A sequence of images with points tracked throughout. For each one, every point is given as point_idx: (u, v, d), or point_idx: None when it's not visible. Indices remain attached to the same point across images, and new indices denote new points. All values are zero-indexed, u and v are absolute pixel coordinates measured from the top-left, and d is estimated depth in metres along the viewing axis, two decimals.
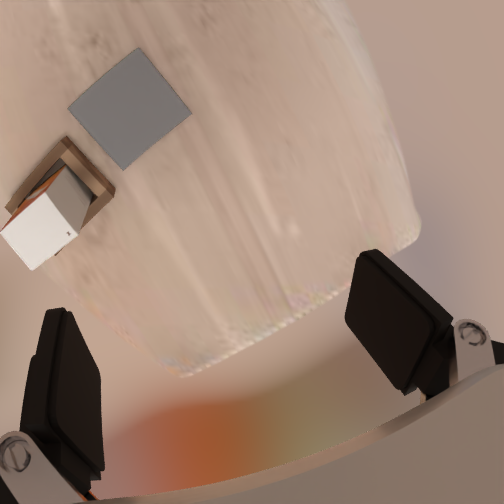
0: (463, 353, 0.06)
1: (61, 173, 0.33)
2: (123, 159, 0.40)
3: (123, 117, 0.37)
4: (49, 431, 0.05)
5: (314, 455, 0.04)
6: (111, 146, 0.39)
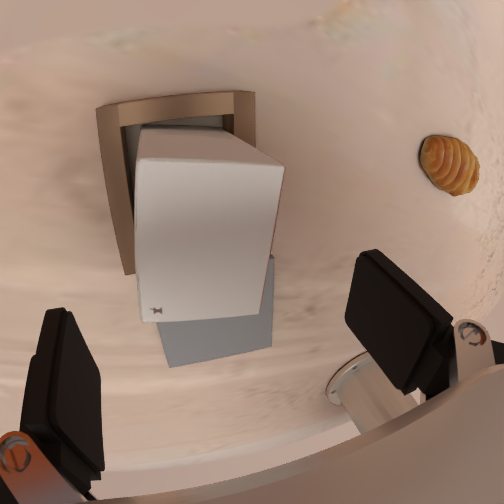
0: (463, 353, 0.06)
1: None
2: None
3: None
4: (49, 431, 0.05)
5: (314, 455, 0.04)
6: None
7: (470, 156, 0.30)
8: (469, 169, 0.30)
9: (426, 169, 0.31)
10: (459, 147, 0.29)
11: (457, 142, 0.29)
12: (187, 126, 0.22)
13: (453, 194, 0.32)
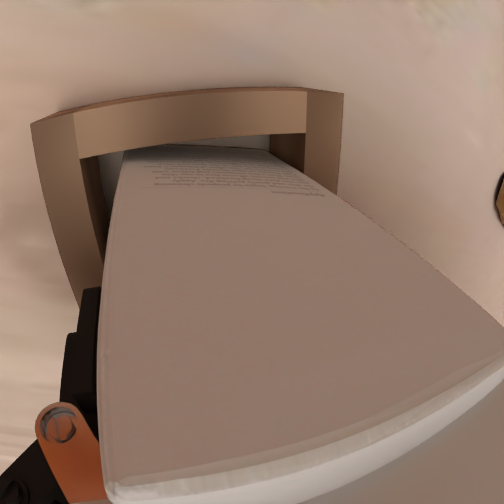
0: None
1: None
2: None
3: None
4: (94, 400, 0.06)
5: None
6: None
7: None
8: None
9: None
10: None
11: None
12: (211, 149, 0.12)
13: None
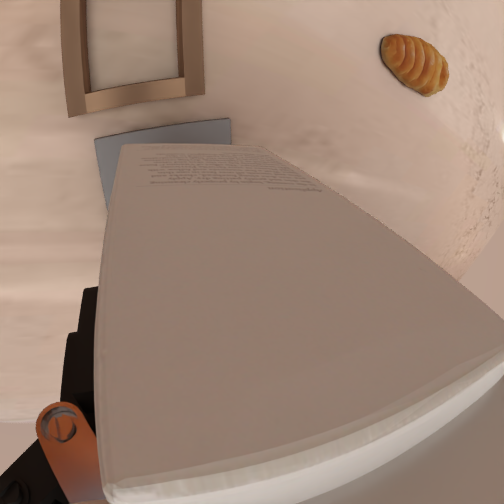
0: None
1: None
2: (108, 149, 0.25)
3: None
4: None
5: None
6: (137, 143, 0.25)
7: (435, 53, 0.27)
8: (436, 65, 0.27)
9: (389, 64, 0.28)
10: (421, 44, 0.26)
11: (418, 39, 0.26)
12: (207, 147, 0.12)
13: (424, 91, 0.30)
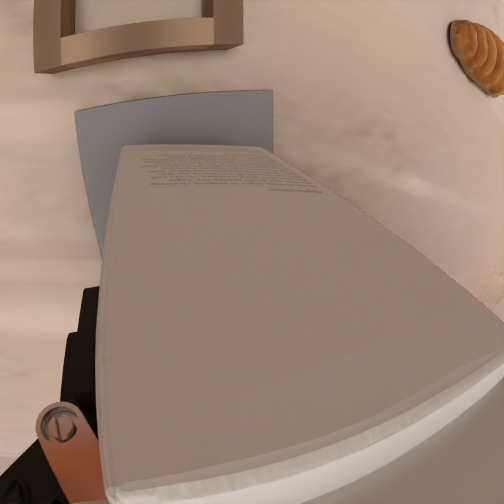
0: None
1: None
2: (94, 125, 0.16)
3: None
4: (95, 399, 0.06)
5: None
6: (136, 118, 0.17)
7: None
8: None
9: (460, 54, 0.19)
10: (490, 34, 0.18)
11: (487, 28, 0.18)
12: (207, 148, 0.12)
13: (494, 90, 0.21)
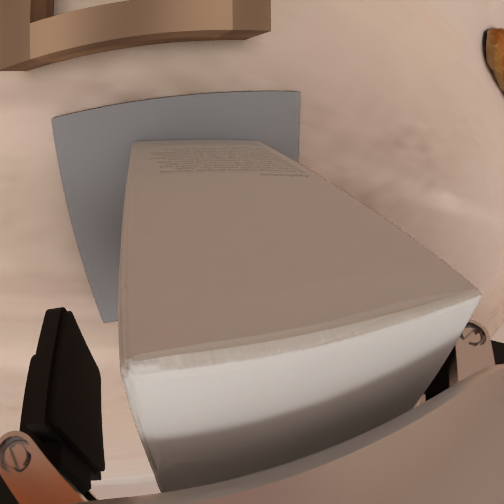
0: (463, 353, 0.06)
1: None
2: (77, 135, 0.12)
3: None
4: (49, 431, 0.05)
5: (314, 455, 0.04)
6: (130, 125, 0.13)
7: None
8: None
9: (497, 67, 0.16)
10: None
11: None
12: (209, 142, 0.14)
13: None
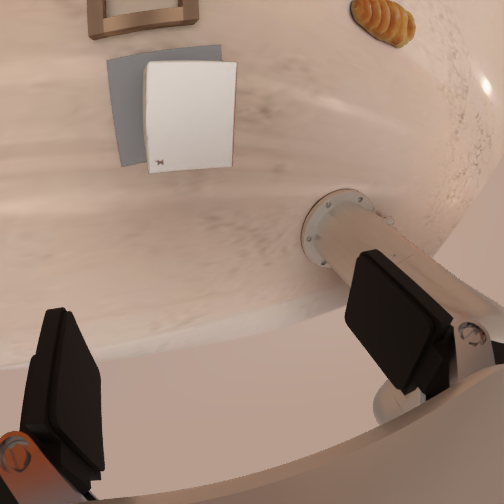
0: (463, 353, 0.06)
1: None
2: (118, 67, 0.27)
3: None
4: (49, 431, 0.05)
5: (314, 455, 0.04)
6: (142, 62, 0.28)
7: (400, 9, 0.29)
8: (401, 18, 0.30)
9: (359, 21, 0.31)
10: (385, 2, 0.29)
11: None
12: None
13: (394, 42, 0.32)
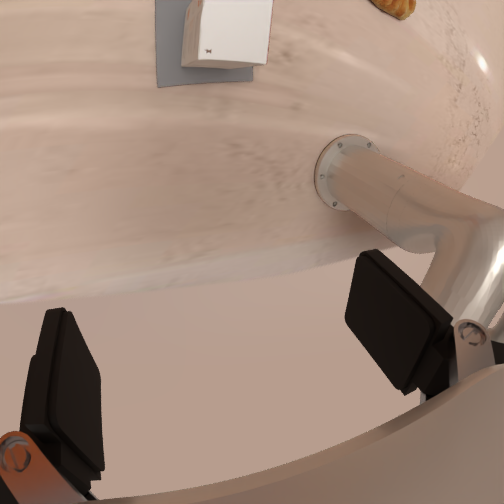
0: (463, 353, 0.06)
1: (241, 67, 0.31)
2: (165, 4, 0.29)
3: None
4: (49, 431, 0.05)
5: (314, 455, 0.04)
6: (186, 3, 0.30)
7: None
8: None
9: None
10: None
11: None
12: None
13: (398, 14, 0.35)
